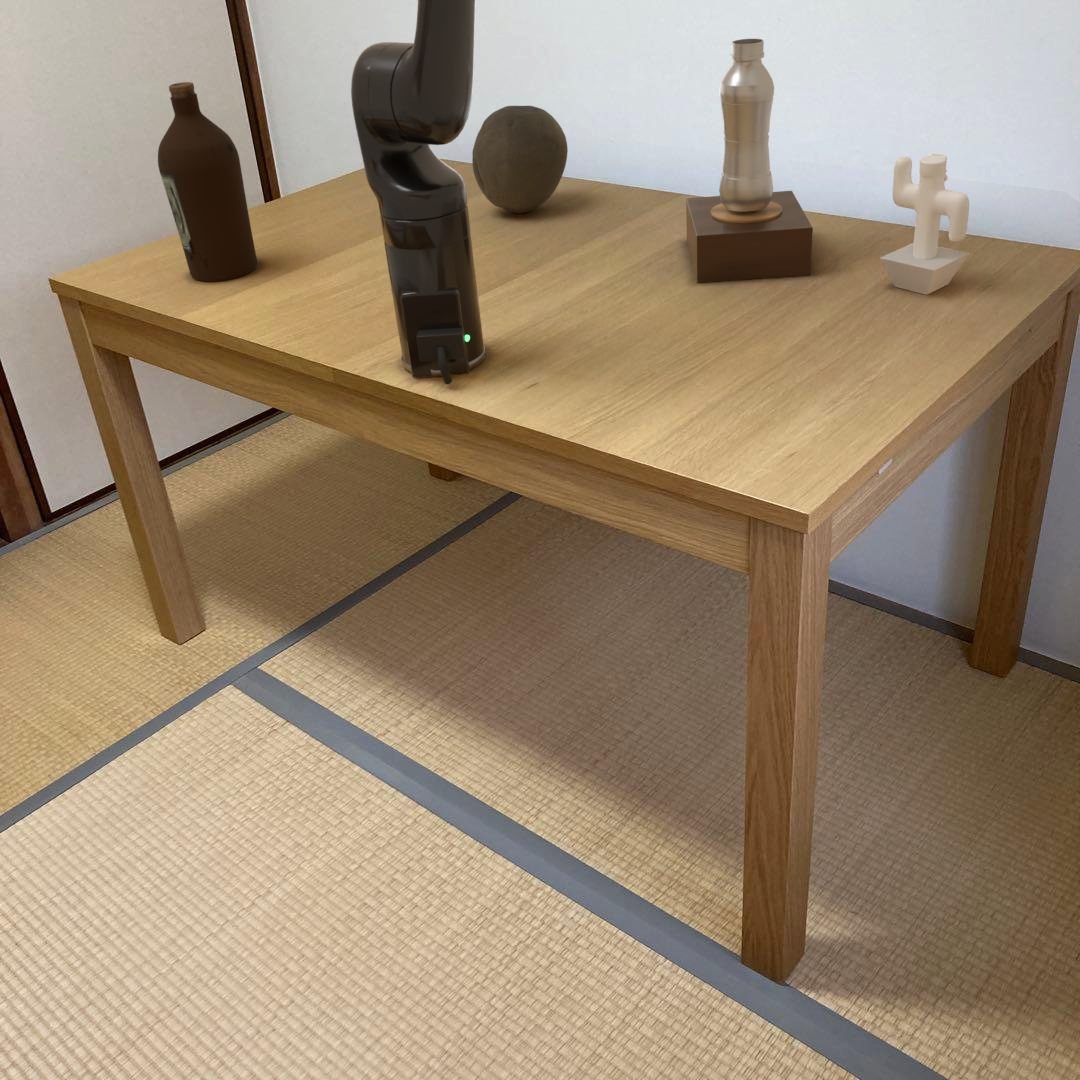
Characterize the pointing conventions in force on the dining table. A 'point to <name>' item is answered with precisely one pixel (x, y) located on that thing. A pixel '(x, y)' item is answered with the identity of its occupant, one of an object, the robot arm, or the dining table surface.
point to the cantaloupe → (519, 157)
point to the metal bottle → (746, 129)
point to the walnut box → (748, 239)
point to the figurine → (927, 226)
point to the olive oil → (205, 192)
